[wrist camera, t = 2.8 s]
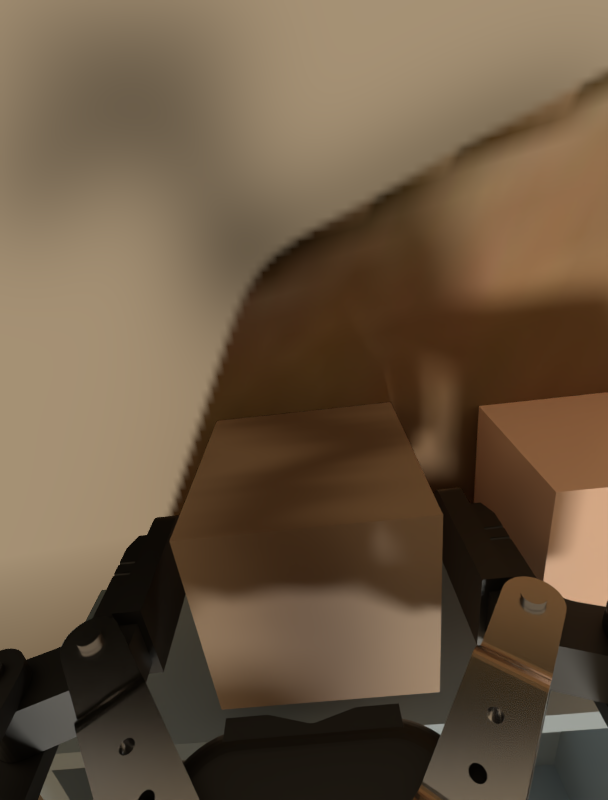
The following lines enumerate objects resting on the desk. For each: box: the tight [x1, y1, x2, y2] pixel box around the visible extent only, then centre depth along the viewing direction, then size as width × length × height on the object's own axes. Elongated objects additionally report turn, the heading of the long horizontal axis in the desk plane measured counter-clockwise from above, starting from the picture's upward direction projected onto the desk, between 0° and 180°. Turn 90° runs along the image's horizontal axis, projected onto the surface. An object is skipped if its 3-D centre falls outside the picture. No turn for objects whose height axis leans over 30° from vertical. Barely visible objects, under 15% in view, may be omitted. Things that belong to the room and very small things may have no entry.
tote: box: [40, 561, 608, 800], centre depth 18 cm, size 21×15×6 cm
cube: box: [474, 392, 608, 607], centre depth 13 cm, size 5×5×5 cm
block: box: [169, 402, 443, 710], centre depth 13 cm, size 6×6×6 cm
